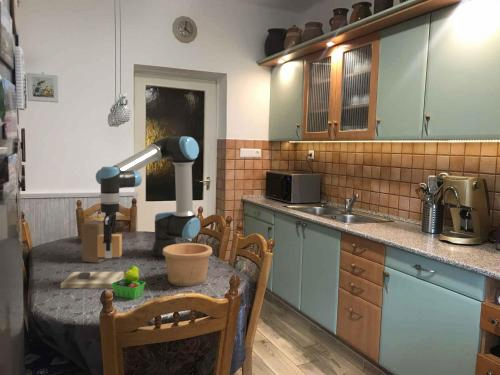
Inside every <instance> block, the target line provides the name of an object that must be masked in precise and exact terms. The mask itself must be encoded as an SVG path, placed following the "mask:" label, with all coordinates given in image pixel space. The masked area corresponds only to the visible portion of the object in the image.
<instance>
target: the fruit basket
mask: <svg viewBox="0 0 500 375" xmlns="http://www.w3.org/2000/svg"><path fill="white" fill-rule="evenodd" d="M139 271H140V270H139V268H138V267H137V265H133V264H132V265H131V266H130V267H129V268H128V270H127V271H126V272H124V277H125V278H122V279H121V280H119V281H116V282H114V283H112V286H113V288H112V289H113V292H114V295H115V296H116V297H120V298H125V299H132V300H135V299H137V298H139V297H140V296H142V295H143V292H144V288H145V285H146V283H147V282H146V281H142V280H139V276H140V274H139Z"/></svg>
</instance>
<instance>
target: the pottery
mask: <svg viewBox="0 0 500 375" xmlns="http://www.w3.org/2000/svg"><path fill="white" fill-rule="evenodd" d="M162 254H163V255H164V256H165V258H164V259H165V265H166V274H167V281H168V283H170V284H171V285H172V286H177V287H195V286H199V285H202V284H204V283H205V282H206V281H207V273H208V268H209V267H208V266H209V262H210V257H211V255H212V254H213V248H212V247H211V246H209V245H207V244H204V243H193V242H188V243H187V242H184V243H183V242H182V243H177V244H173V245H170V246H167V247H165V248H163V251H162Z"/></svg>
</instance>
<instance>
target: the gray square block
mask: <svg viewBox="0 0 500 375" xmlns="http://www.w3.org/2000/svg"><path fill="white" fill-rule="evenodd" d="M86 272H87V273H80V274H79V275H78V279H88V278H89V277H90V272H91V271H86Z"/></svg>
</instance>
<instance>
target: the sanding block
mask: <svg viewBox="0 0 500 375" xmlns="http://www.w3.org/2000/svg"><path fill="white" fill-rule="evenodd" d="M97 237H98V259H106V260H121V258H122V257H123V253H122V252H123V234H122V233H116V234H112V237H111V243H112V258H105V243H103V241H104V234H100V235H98V236H97Z"/></svg>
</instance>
